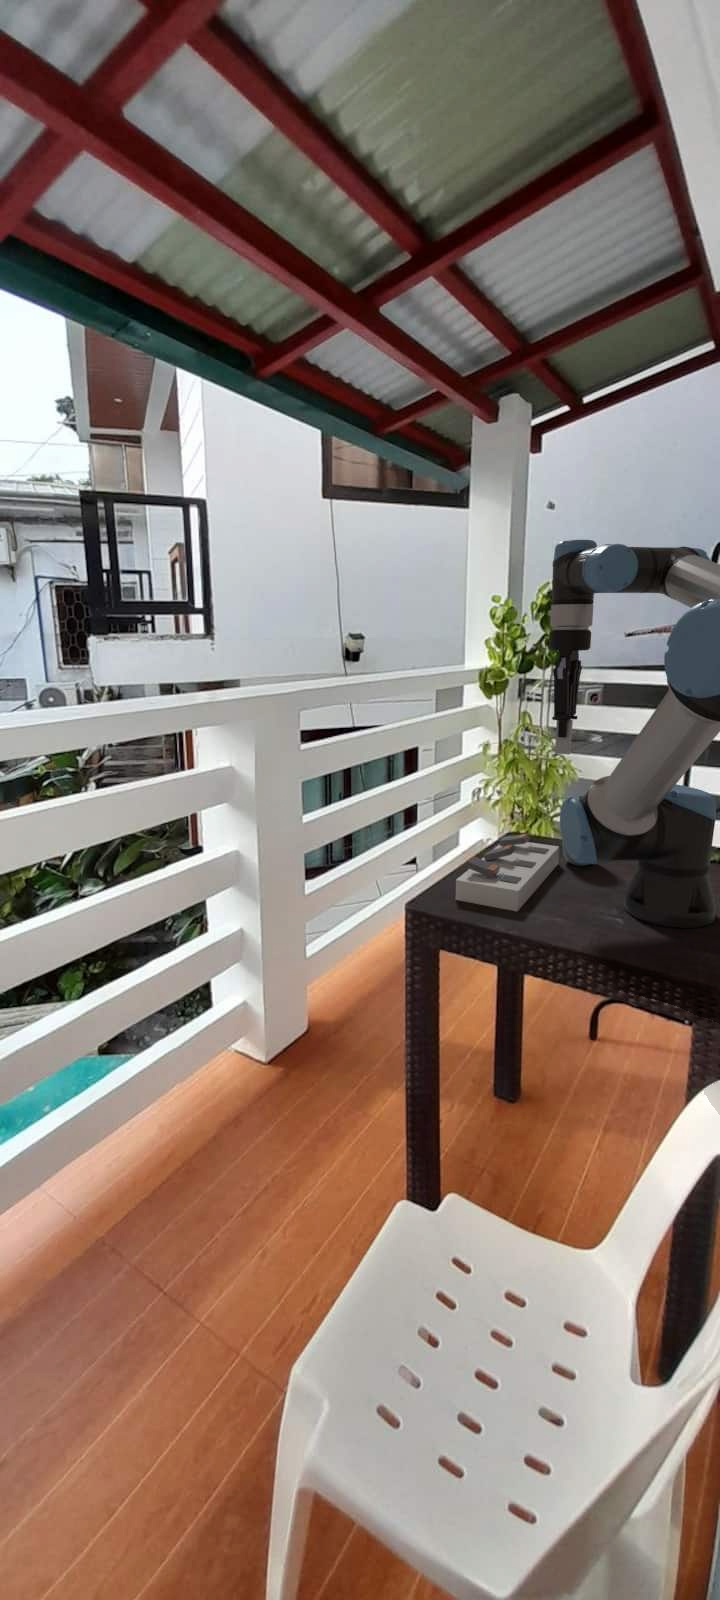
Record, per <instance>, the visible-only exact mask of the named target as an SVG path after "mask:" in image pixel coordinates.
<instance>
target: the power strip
mask: <svg viewBox="0 0 720 1600" xmlns="http://www.w3.org/2000/svg"><path fill="white" fill-rule="evenodd" d="M507 846H508V845H507ZM514 846H515V849H516V850H515V851H514V852H513V853H512V854H511V855H508V856H504V857H500V858H496V859H492V860H488V861H487V862H489V863H492V864H494V865H497V866H499V867H500V870H499V873H498V874H497V875H496V876H495V877H494V878H491V877H488V876H486V875H483V874H481V873H479V872H476V871H474V870H472V869H469V868H468V870H466V871H465V872H463V873H462V875H460V876H459V877H458V878H456V879H455V901H460V902H465V903H469V904H470V903H471V904H476V905H481V906H487V907H490V908H491V907H493V908H497V909H501V910H507V911H513V912H518V911H519V910H520V909H521V908H522V907H523V906H524V904H525V903H526V902H527V901H528V900H529V899H530V898H531V896H532V895H533V894H534V892H535V893H536V890H538V888H539V887H540V886H541V885H542V883H543V882H544V881H545V880H546V879H547V878H548V876H549V875H551V873H552V872H553V871H554V870H555V868H556V867H558V866H559V857H560V856H559V855H560V846H557V845H551V844H543V843H537V842H529V841H528V842H526V843H525V844H517V845H514ZM502 847H506V846H500V843H499V844H498V845H497V846H495V847H494V848H493V849H492V850H494V849H498V848H502ZM481 859H482V860H484V861H485V859H484V856H483V857H482V858H481Z"/></svg>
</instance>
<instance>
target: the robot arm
mask: <svg viewBox="0 0 720 1600" xmlns="http://www.w3.org/2000/svg"><path fill="white" fill-rule="evenodd" d="M551 585H552V586H551V603H550V604H551V605H550V609H551V610H549V611H547V616H550V621H549V622H550V623H549V625H550V627H551V628H553V630H552V629H551V630H550V631H549V633H548V634H549V635H548V636H549V638H548V649H549V650H550V651H558V652H559V654H558V657H557V658H558V659H557V660H556V661H555V664H554V665H555V667H554V668H553V670H552V673H553V674H552V675H553V716H552V720H553V721H556V727H555V743H554V745H555V746H554V754H556V755H559V754H561V755H570V754H571V753H572V740H573V739H572V737H573V722H574V720H578V715H576V713H577V704H578V697H579V690H580V689H579V688H580V687H579V686H580V681H581V679H580V678H581V674H582V673H581V672H582V670H583V666H582V660H581V659H580V653H579V651H588V650H590V649H591V643H592V641H591V640H592V631H591V630H590V629H589V628H591V627H592V626H593V617H594V598H595V594H661V595H664V596H665V597H668V598H671V599H672V600H674V601H676V602H679V603H680V604H682V605H684V606H686V607H689V609H688V610H687V611H685V612H684V613H683V614H682V616H681V617H680V618H679V619H678V620H677V622H676V623H675V624H674V626H673V628H672V630H671V632H670V633H669V636H668V639H667V641H666V646H667V647H668V650H667V651H665V652H664V657H663V658H664V659H663V663H664V664H663V665H664V672H665V675H666V684H667V687H668V691H667V693H666V694H665V695H664V697H663V699H662V700H661V701H660V703H659V704H658V705H657V707H656V708H655V710H654V712H653V713H652V714H651V716H650V717H649V718H648V720H647V721H646V723H645V724H644V726H643V727H642V729H641V730H640V732H639V733H638V735H637V736H636V738H635V739H634V740H633V742H632V743H631V745H630V746H629V748H628V749H627V750H626V752H625V753H624V755H623V756H622V758H621V759H620V761H619V762H618V763H617V765H616V766H615V768H614V769H613V771H612V772H611V774H610V775H606V776H603V777H600V778H598V779H597V780H595V781H594V782H593V783H592V784H591V786H590V787H589V789H588V790H587V792H586V793H585V794H584V795H580V796H579V795H576V794H575V795H573V796H568V797H566V798H565V799H563V801H562V803H561V806H560V812H559V829H560V834H561V838H562V844H563V843H564V846H565V848H566V851H567V853H568V854H569V856H570V857H571V858H572V859H573V860H574V861H576V862H578V863H592V864H591V865H597V864H603V863H604V864H605V863H608V864H609V863H618V862H620V863H621V862H631V861H632V862H633V861H638V862H637V868H636V870H635V872H634V873H633V876H632V879H630V882H629V884H628V887H627V888H626V891H625V893H624V900H623V907H624V909H625V911H626V912H627V913H629V914H630V915H631V916H632V917H635V918H637V919H639V920H642V921H644V922H647V923H650V924H654V925H658V926H663V927H671V928H685V929H688V928H692V929H693V928H701V927H704V926H708V925H711V924H713V922H714V921H715V917H716V916H715V915H716V911H717V906H716V901H715V897H714V894H713V889H712V885H711V881H710V877H709V875H710V874H709V873H710V864H711V858H712V848H713V841H714V840H713V839H714V832H715V825H716V824H715V823H716V821H717V801H716V797H715V796H713V795H712V793H710V792H707V791H705V790H703V789H698V788H695V787H691V786H687V785H681V784H678V782H679V781H680V780H681V778H682V777H683V776H684V775H685V774H686V773H687V771H689V769H690V768H691V767H692V766H693V764H694V763H695V762H696V761H697V760H698V759H699V757H700V756H701V755H702V754H703V752H704V751H705V750H706V749H707V748H708V747H709V746H710V744H711V743H712V742H713V740H714V739H716V737H718V735H719V733H720V564H719V563H717V562H714V561H712V560H711V559H710V557H709V556H708V553H707V551H705V550H704V549H702V548H695V547H690V546H689V547H688V546H679V547H675V546H674V547H670V546H669V547H668V546H667V547H662V546H661V547H653V546H651V547H649V546H647V547H646V546H627V545H626V544H623V543H622V544H621V543H612V544H611V543H606V544H603V545H601V546H598V545H597V542H596V541H594V540H593V539H568V540H562V541H560V542H558V543H557V544H556V546H555V547H554V554H553V561H552V582H551Z"/></svg>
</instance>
